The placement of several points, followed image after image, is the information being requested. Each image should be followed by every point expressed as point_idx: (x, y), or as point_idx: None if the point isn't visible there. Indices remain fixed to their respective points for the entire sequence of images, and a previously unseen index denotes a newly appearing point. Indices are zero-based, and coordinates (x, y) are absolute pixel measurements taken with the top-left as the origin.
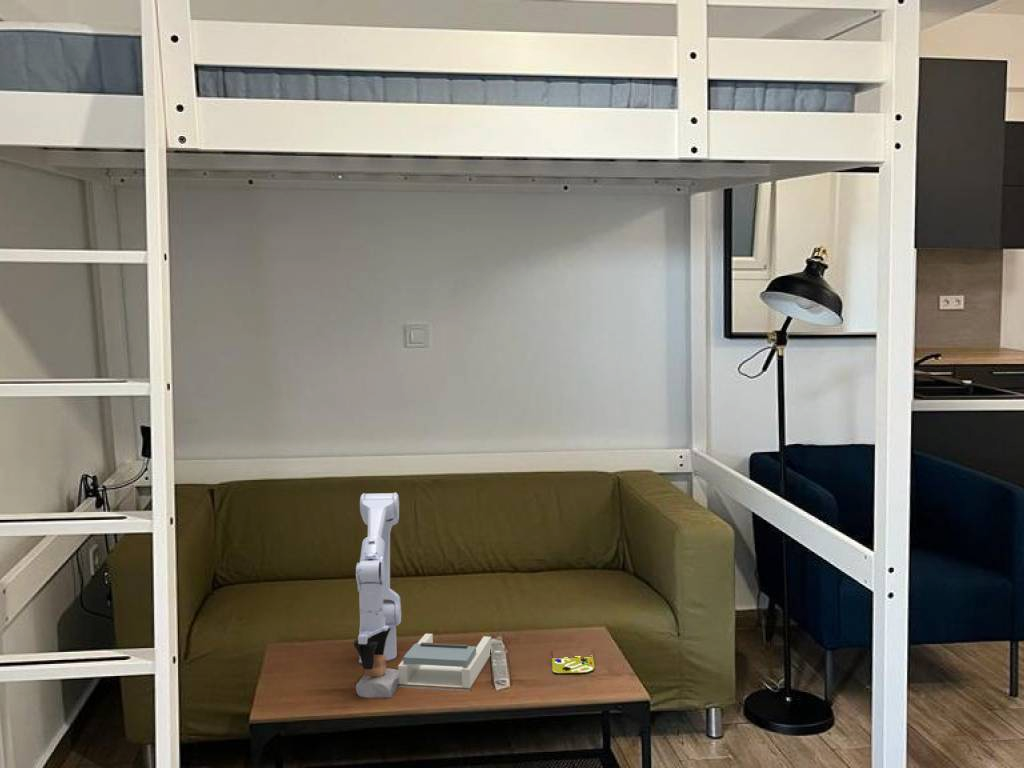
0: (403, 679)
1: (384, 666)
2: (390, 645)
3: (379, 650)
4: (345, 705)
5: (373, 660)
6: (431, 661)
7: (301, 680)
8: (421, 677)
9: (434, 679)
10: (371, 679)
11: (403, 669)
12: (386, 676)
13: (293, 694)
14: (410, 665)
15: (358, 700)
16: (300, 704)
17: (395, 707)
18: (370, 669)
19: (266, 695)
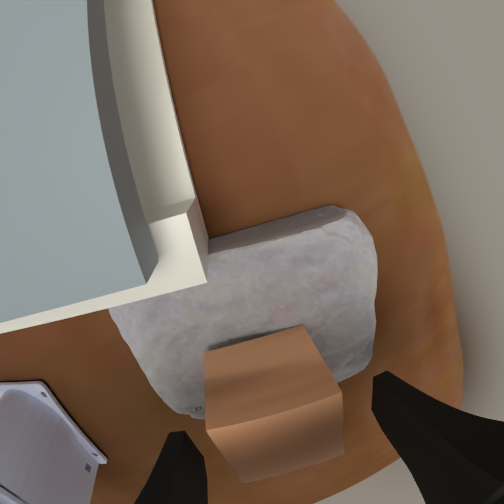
0: (199, 218)
1: (233, 370)
2: (12, 434)
3: (187, 480)
4: (425, 319)
5: (412, 401)
6: (95, 9)
7: (282, 488)
8: None
9: None
10: (323, 352)
11: (194, 230)
12: (269, 307)
13: (366, 453)
14: None
15: (387, 311)
16: None
17: (407, 135)
18: (388, 374)
19: (375, 471)
